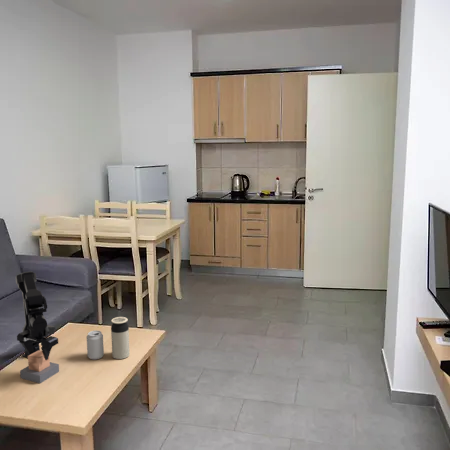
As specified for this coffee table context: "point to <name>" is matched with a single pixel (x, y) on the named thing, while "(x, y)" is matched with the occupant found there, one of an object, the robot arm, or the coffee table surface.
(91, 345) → the can
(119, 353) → the travel mug
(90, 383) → the coffee table surface
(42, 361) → the terracotta cube
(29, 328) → the robot arm
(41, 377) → the charcoal box
